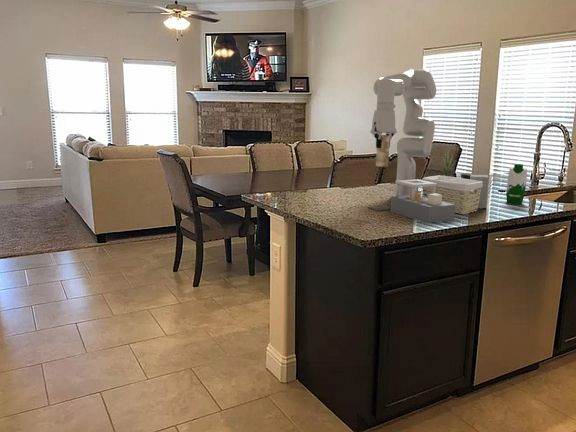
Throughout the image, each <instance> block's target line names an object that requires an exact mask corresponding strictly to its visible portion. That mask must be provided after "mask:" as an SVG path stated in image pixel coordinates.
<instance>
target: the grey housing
mask: <svg viewBox="0 0 576 432" xmlns="http://www.w3.org/2000/svg"><path fill="white" fill-rule="evenodd" d="M396 180H397V179H396ZM396 180H395V182H394V183H395V194H396V196H393V195H391V198H390V210H389V211H390V212H391V213H394V214H397V213H398V215H400V214H401V216H403V217H408V218H410V219H413V220H416V221H419V220H420V221H419V222H422V221H423V223H425V222H426V224H433V223H432V222H437V223H441V222H440V221H447V222H453V221H452V220H454V221H455V215H456V213H455V204H451V203H447V202H443V201H442V203H441V204H440V205H432V204H428V198H427V197H423V195H421V197H420V200H414V199H415V189H416V193H417V194H418V190H420V189H419V188H422V187H423V186H433V189H432V194H435V187H436V186H437V183H433V182H429V181H424V180H422V179H418V178H415V180H397V181H396ZM396 183H397V185H396ZM399 184H403V185H407V186H411V187H412V200H411V199H409V197H410V195H404V196H399Z"/></svg>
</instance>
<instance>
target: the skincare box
mask: <svg viewBox="0 0 576 432" xmlns="http://www.w3.org/2000/svg"><path fill="white" fill-rule="evenodd" d="M470 180H477V181H482V182H483V187H482V188H481V192H480V199H479V203H478V208H477V209H483V208H486V209H487V200H488V184H489V175H488V174H479V175H470Z"/></svg>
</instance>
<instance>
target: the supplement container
mask: <svg viewBox="0 0 576 432" xmlns="http://www.w3.org/2000/svg"><path fill="white" fill-rule="evenodd" d="M470 175H480V174H478V173H472V172H462V173H461V174H460V178H463V179H470Z"/></svg>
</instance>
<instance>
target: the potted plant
mask: <svg viewBox="0 0 576 432" xmlns="http://www.w3.org/2000/svg"><path fill="white" fill-rule="evenodd" d="M444 156H445V158H444ZM444 156H442V159H443V164H444V167H443V166H442V165H441V164H439V167H440V168H441V172H442V175H441V176H449V177H453V175H454V174H455V173H456V170H455V164H456V162H457V160H456V159H455V160H454V161H453V159H454V155H452V156H451V158H450V156H449V151H447V153H446V151H444Z"/></svg>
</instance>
